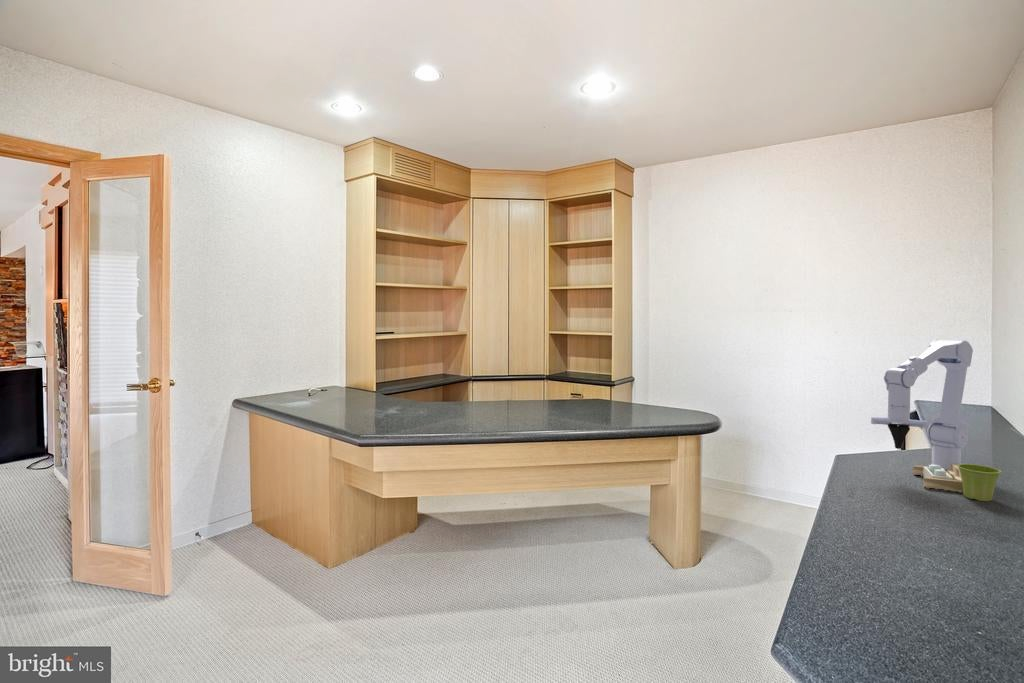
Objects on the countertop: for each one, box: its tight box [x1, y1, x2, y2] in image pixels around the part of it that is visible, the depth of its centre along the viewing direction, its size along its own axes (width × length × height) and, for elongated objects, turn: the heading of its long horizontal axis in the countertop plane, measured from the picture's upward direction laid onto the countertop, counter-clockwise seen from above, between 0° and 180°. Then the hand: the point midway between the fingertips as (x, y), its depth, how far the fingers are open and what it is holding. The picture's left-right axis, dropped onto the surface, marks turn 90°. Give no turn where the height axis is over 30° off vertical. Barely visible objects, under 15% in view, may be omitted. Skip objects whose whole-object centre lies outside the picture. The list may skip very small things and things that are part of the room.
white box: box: [922, 463, 953, 480], centre depth 168 cm, size 12×5×5 cm, turn 153°
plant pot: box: [957, 463, 1002, 502], centre depth 154 cm, size 9×9×9 cm
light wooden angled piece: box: [912, 463, 963, 493], centre depth 168 cm, size 16×13×5 cm
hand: (898, 448), depth 173 cm, fingers closed
